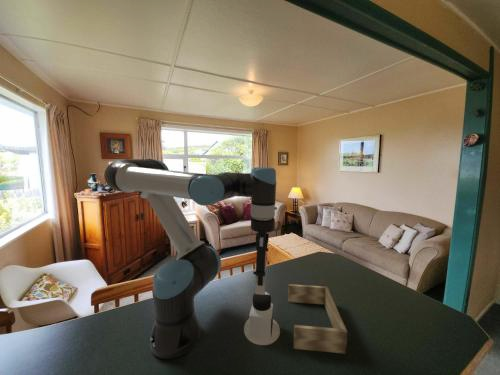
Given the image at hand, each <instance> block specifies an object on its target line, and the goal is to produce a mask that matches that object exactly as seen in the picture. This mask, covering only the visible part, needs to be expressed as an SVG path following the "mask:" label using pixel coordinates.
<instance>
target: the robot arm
mask: <svg viewBox="0 0 500 375" xmlns="http://www.w3.org/2000/svg"><path fill="white" fill-rule="evenodd" d="M103 176H104V177H103V178H104V182H105V183H106V185H107V186H108V188H110V189H112V190H114V191H117V192H121V193H122V192H123V193H127V194H129V193H134V192H136V191H137V193H138V194H139V195H140V197H141V198H142V199H146V200H147V201H148V203H149V205H150V206H151V208H152V209H153V212H154V213H155V215H156V217H157V219H158V221H159V222H160V224H161V226H162V227H163V230H164V231H165V233H166V235H167V236H168V238H169V240H170V242H171V244H172V246H173V247H174V249H175V251H176V253H177V255H176V256H177V257H176V259H174V260H173V261H168V262H166V263H164V264H162V265H161V266H160V267H159V268H158V269H157V270H156V272H155V273H154V275H153V280H152V281H153V282H152V283H153V284H152V293H153V303H154V304H153V305H154V306H153V309H154V323H153V326H152V329H151V333H150V336H149V346H150V347H149V348H150V351H151V353H152V355H154V356H155V357H157V358H158V359H162V360H172V359H177V358H179V357H182V356H184V355H186V354H188V353H189V352H190V351H191V350H192V349H194V347H195V346H196V345H197V344H198V342H199V340H200V338H201V334H202V332H201V322H200V320H199V317H198V315H197V313H196V310H195V297H196V296H197V295H198V294H199V293H200V292H201V291H202V290H203V289H204V288H205V287H206V286H207V285H208V284H209V283H210V282H212V281H213V280H214V279H215V278H216V276H218V274H219V273H220V270H221V268H222V259H221V255H220V253H219V252H218V250H216V249H215V248H212V246H208V245H207V244H206V243H205V241H202V240H200V239H198V237H197V235H196V234H195V231H194V230H193V228H192V227H191V225H190V223H189V221H188V220H187V218H186V216H185V214H184V213H183V211H182V210H181V208H180V206H179V204H178V203H177V201H176V199H175V198H180V199H185V200H187V199H188V200H192V201H193V202H195V204H197V205H199V206H209V205H210V206H212V205H215V204H217V203H219V202H222V201H225V200H228V199H233V198H234V197H245V198H250V216H251V218H250V229H251V230H252V231H254V232H256V236H255V245H256V246H255V250H256V258H255V259H256V260H255V261H256V262H255V271H253V272H252V274H253V275H255V292H254V294H259V295H265V292H266V271H267V252H269V248H268V243H269V238H270V237H269V233H270V232H273V231H274V230H275V226H276V225H275V224H276V219H275V215H276V211H277V210H278V207H277V206H276V194H277V193H276V191H277V172H276V169H275V168H274V167H261V166H260V167H257V166H256V167H252V168H251V172H250V173H249V172H248V173H245V172H244V173H243V172H230V171H228V172H219V173H218V174H206V173H197V172H191V171H190V172H188V171H177V170H170V169H169V168H168V166H167V164H166V163H165V162H163V161H162V160H158V159H153V158H147V159H146V158H145V159H141V158H140V159H138V158H135V159H134V158H122V159H119V158H118V159H116V160H114V161H112V162H110V163H109V164H108V165H107V166H106V168H105V170H104V175H103Z"/></svg>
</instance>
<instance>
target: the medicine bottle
mask: <svg viewBox="0 0 500 375" xmlns="http://www.w3.org/2000/svg"><path fill="white" fill-rule="evenodd" d="M248 319H249V335H252V336H258V337H264V338H271V336H272V327H273V319H274V303H272V296H271V295H270V293H269V292H267V291H265V295H259V294H255V293H254V294H253V295H252V304H251V307H250V312H249V315H248Z"/></svg>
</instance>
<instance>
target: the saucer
mask: <svg viewBox="0 0 500 375" xmlns="http://www.w3.org/2000/svg"><path fill="white" fill-rule="evenodd" d="M243 334H244V335H245V338H246V339H247V340H248V341H249V342H250V343H251V344H254V345H257V346H268V345H272V344H273V343H275V342H276V341H277V340H278V339H279V337H280V334H281V329H280V325H279V323H278V322H277V321H276V320H275V319H274V318H273V327H272V336H271V338H264V337H258V336H252V335H249V318H248V319H247V320H246V321H245V323H244V325H243Z"/></svg>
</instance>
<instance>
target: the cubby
mask: <svg viewBox="0 0 500 375" xmlns="http://www.w3.org/2000/svg"><path fill="white" fill-rule="evenodd" d="M287 293H288V297H287V298H288V303H300V304H313V305H324V308H325V310H326V313H327V315H328V318H329V321H330V324H331V326H332V327H326V326H325V327H324V326H323V327H322V326H313V325H312V326H311V325H303V324H302V325H300V324H299V325H298V324H294V325H293V349H295V350H305V351H313V352H315V351H316V352H322V353H323V352H324V353H325V352H326V353H337V354H343V355H344V354H345V355H346V354H347V345H348V344H347V342H348V330H347V328H346V325H345V324H344V322H343V319H342V317H341V314H340V312H339V311H338V310H339V309H338V307H337V305H336V303H335V300H334V299H333V297H332V295H331V292H330V290H329V287H328V286H323V285H322V286H321V285H307V284H306V285H305V284H291V283H290V284H289V283H288V292H287Z"/></svg>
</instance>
